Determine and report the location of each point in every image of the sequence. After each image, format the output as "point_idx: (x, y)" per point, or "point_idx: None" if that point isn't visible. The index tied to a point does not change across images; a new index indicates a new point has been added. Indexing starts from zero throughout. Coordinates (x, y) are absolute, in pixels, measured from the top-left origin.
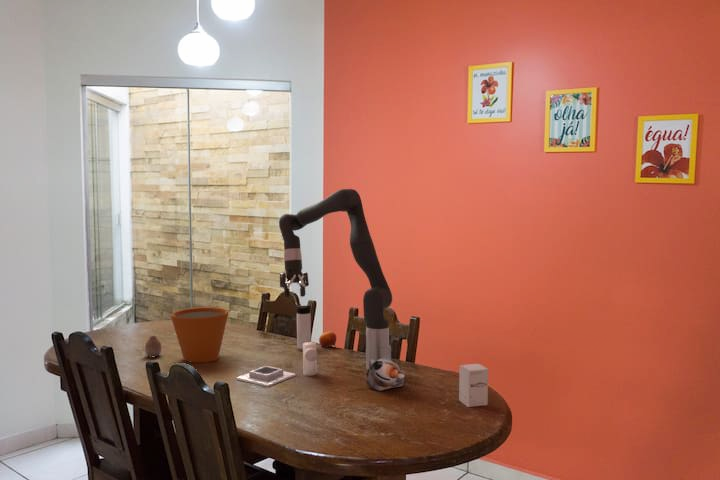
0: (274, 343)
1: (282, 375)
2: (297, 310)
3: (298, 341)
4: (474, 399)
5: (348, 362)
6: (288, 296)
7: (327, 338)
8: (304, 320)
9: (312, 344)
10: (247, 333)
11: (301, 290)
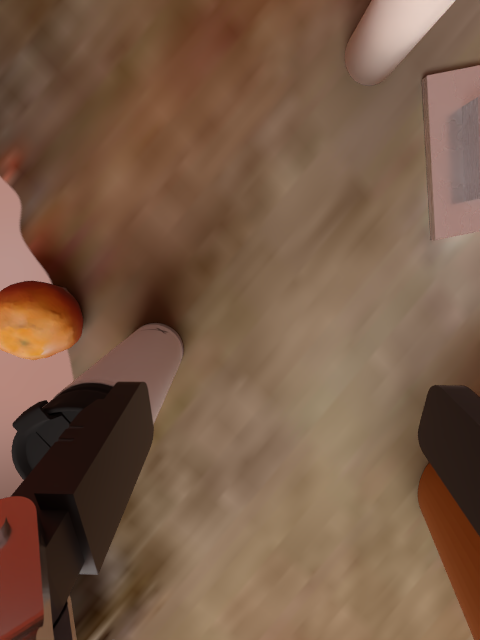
0: (189, 479)
1: (473, 98)
2: None
3: (178, 360)
4: None
5: (152, 49)
6: (464, 387)
7: (54, 296)
8: (135, 371)
9: None
10: (175, 633)
11: (113, 492)
